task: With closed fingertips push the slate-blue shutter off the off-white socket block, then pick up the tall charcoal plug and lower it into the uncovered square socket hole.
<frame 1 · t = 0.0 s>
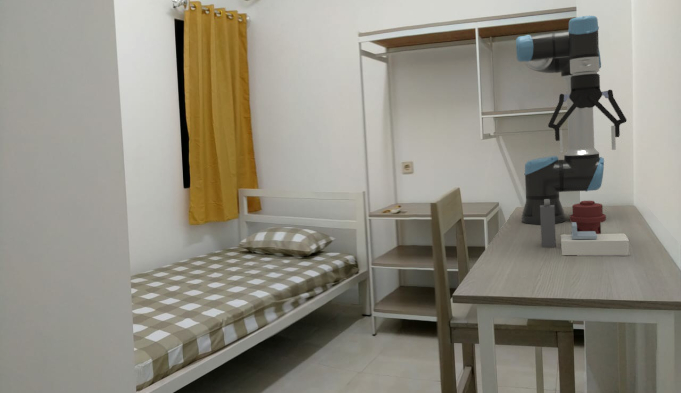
hand: (587, 151, 173), 28 cm above the table, fingers open, 13 cm apart
plug: (548, 245, 185), on the table
mechanical component: (588, 242, 186), on the table
socket: (584, 251, 174), on the table
shutter: (583, 230, 173), point 6 cm above the table, slide at 0.0 cm
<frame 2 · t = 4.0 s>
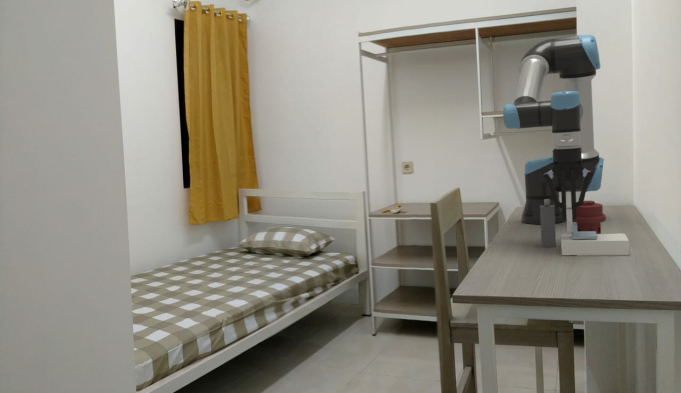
hand: (569, 231, 174), 6 cm above the table, fingers closed
shutter: (583, 230, 173), point 6 cm above the table, slide at 0.1 cm, touching gripper
everything else where it was.
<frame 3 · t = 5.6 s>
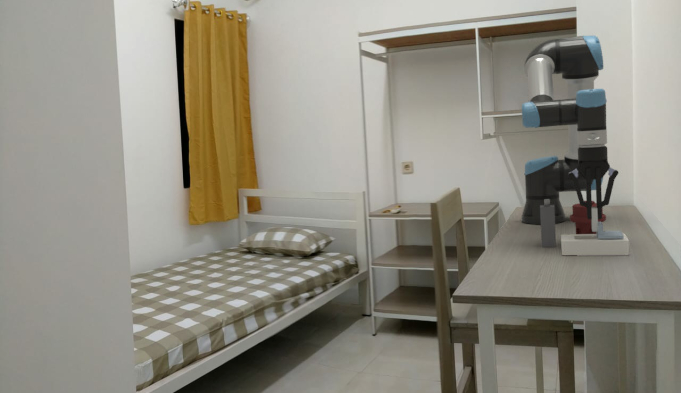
hand: (594, 230, 172), 6 cm above the table, fingers closed
shutter: (609, 229, 171), point 6 cm above the table, slide at 6.7 cm, touching gripper
everything else where it was.
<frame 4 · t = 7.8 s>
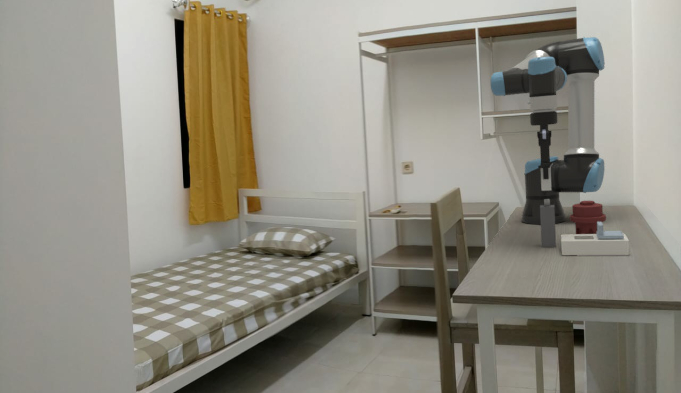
hand: (546, 188, 183), 17 cm above the table, fingers open, 8 cm apart
shutter: (609, 229, 171), point 6 cm above the table, slide at 6.7 cm
everything else where it was.
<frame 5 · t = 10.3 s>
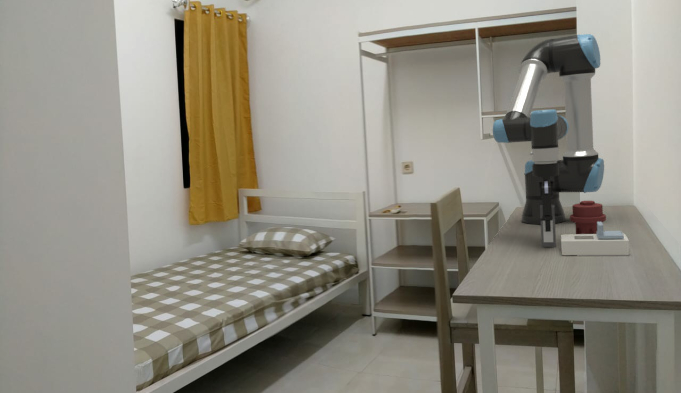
hand: (548, 240, 185), 2 cm above the table, fingers closed on plug, 4 cm apart
plug: (548, 245, 185), on the table, touching gripper
everything else where it was.
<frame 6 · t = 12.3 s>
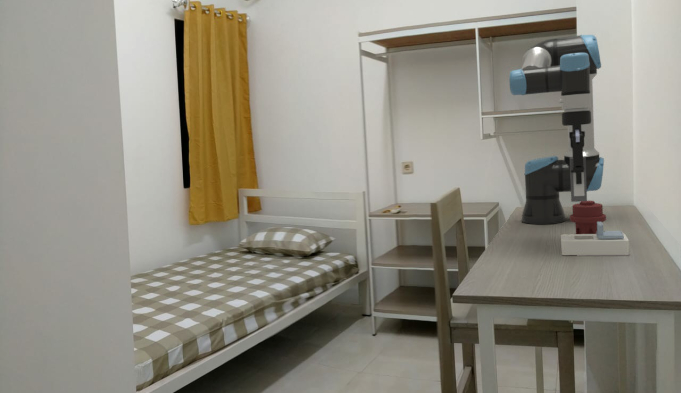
hand: (579, 194, 172), 16 cm above the table, fingers closed on plug, 4 cm apart
plug: (579, 200, 173), point 14 cm above the table, touching gripper
everything else where it was.
when the fingers open (5 cm above the table, at t = 14.6 s): plug drops 3 cm, resting on socket.
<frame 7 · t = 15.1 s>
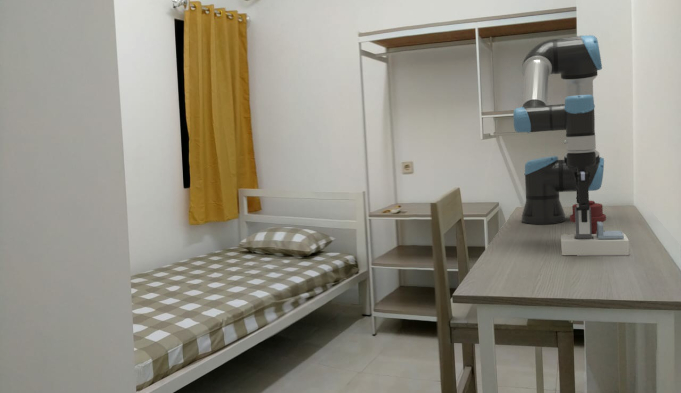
hand: (583, 229, 173), 6 cm above the table, fingers open, 11 cm apart
plug: (584, 250, 174), resting on socket
everything else where it was.
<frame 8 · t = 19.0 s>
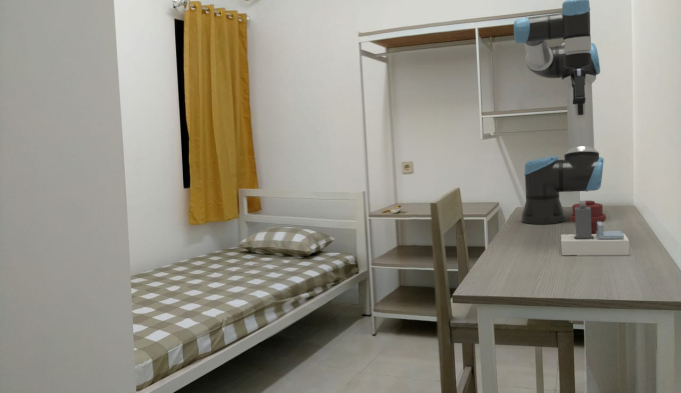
hand: (579, 126, 183), 35 cm above the table, fingers open, 13 cm apart
nothing on the table moved.
at the end: plug 0.1 cm off-centre on the socket, point 0.3 cm above the socket's base; shutter slide at 6.7 cm; plug tilted 0° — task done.
